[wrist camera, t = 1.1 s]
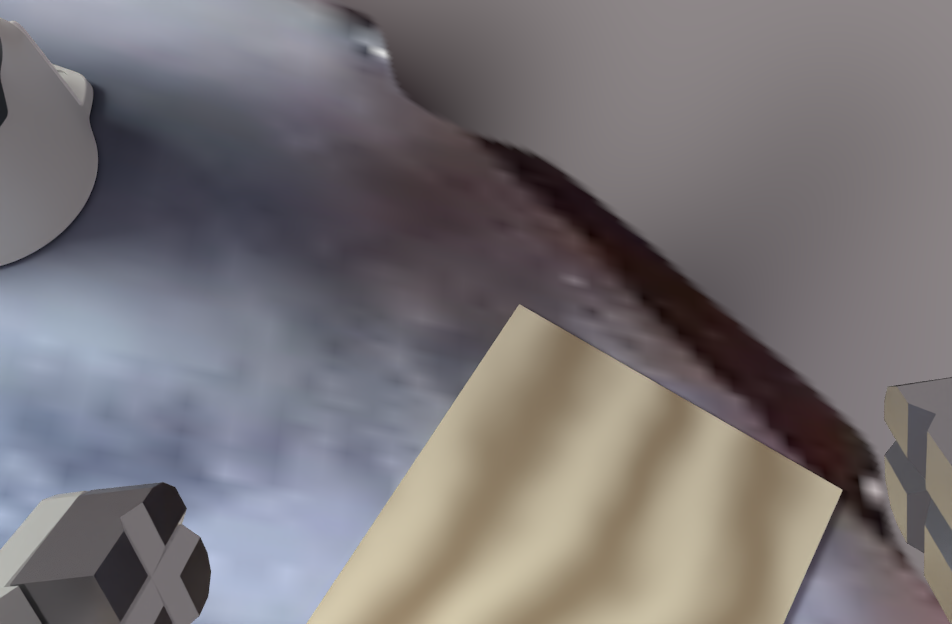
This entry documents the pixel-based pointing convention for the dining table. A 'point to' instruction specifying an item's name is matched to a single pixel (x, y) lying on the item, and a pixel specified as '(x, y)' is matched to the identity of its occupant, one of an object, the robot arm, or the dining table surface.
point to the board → (583, 505)
